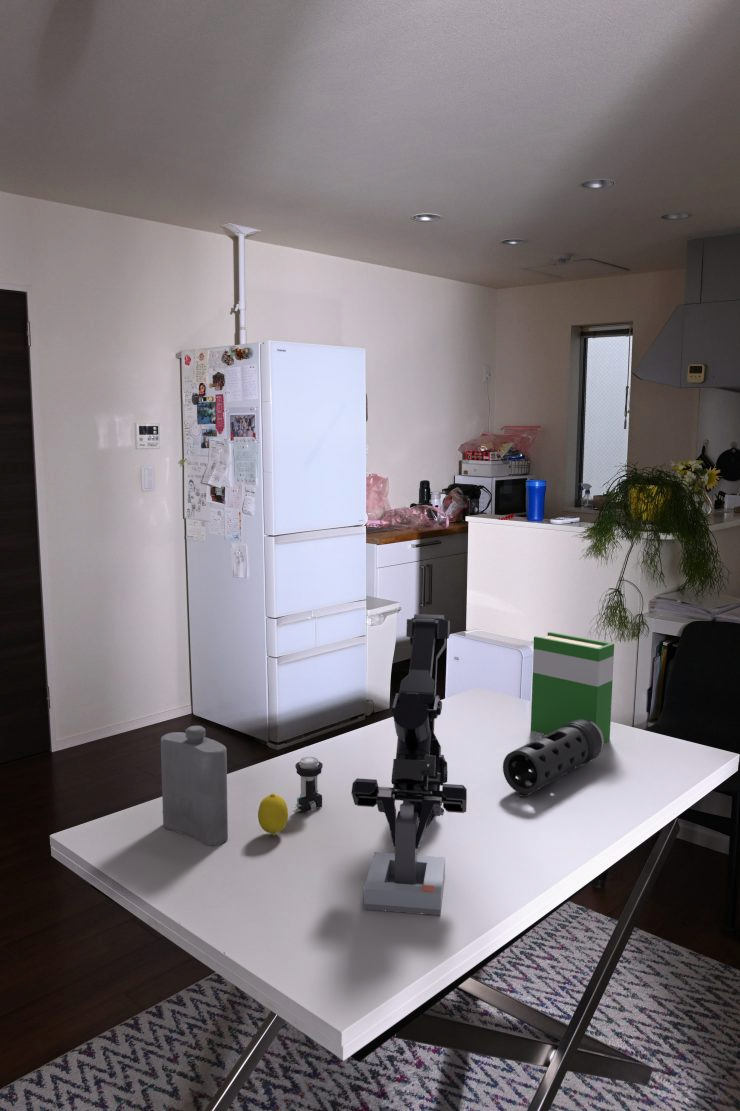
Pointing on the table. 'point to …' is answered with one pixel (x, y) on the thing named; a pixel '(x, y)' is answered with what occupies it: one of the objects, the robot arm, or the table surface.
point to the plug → (406, 845)
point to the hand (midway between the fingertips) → (405, 847)
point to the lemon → (273, 814)
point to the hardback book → (571, 682)
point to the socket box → (405, 886)
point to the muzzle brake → (552, 756)
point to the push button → (308, 784)
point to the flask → (195, 785)
